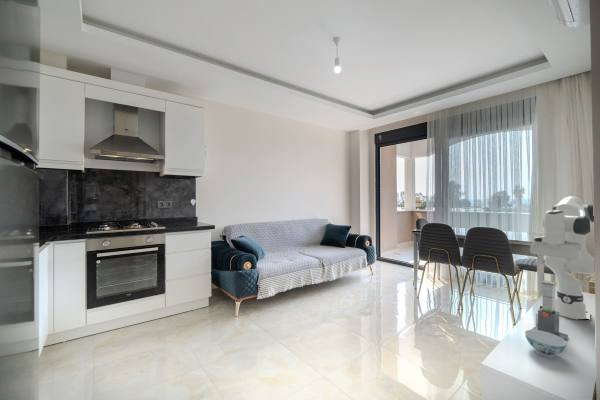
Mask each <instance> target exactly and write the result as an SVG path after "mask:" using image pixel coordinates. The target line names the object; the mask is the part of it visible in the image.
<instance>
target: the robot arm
mask: <svg viewBox="0 0 600 400" xmlns="http://www.w3.org/2000/svg"><path fill="white" fill-rule="evenodd" d="M583 203H584V202H583V201H582V199H581V198H580V197H578V196H573V195H569V196H566V197H563V199H561V200H560V201H559V202H558V203H557V204H554V205H553V206H552V207H551V209H549V210H546V211H545V212H544V217H543V222H542V223H543V224H542V225H543V228H544V231H543V235H540V236H534V237H533V238H532V242H531V243H530V247H529V252H530V254H532V255H537V257H538V258H539V260H540V263H541V264H544V265H545V266H546V267H547V268H549V269H550V270H551V271H552V272H553V274H554V275H555V277H556V280H557V290H556V297H555V311H557V312H559V316H561V317H564V318H567V319H572V320H578V319H587V318H586V313H588V312H589V311H587V306H586V303H585V302H584V299H585V297H584V294H583V283H582V282H581V280H580V279H578V278H576V277H575V276H573V275H572V274H571V273H576V274H580V275H581V274H582V275H595V274H594V259H595V257H593V256H592V255H591V254H590V253H589V252H588V250H587V245H586V242H587V234H590V233H591V232H592V230H593V223H594V222H595V221H594V216H593V206H594V205H592V204H583Z"/></svg>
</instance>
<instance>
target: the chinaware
mask: <svg viewBox="0 0 600 400" xmlns="http://www.w3.org/2000/svg"><path fill="white" fill-rule="evenodd" d="M524 335H525V338H526V340H527V343H528V344H529V345H530V346H531V347H532V348H533V349H534V350H535V352H536V351H537V352H538V353H537V352H536V353H537V354H539V355H541V354H542V355H541V356H543V355H544V357H548V358H554V357H555V356H556V355H559V354H561V353H564V351H565V350H566V348H567V345H568V343H567V341H566V340H564V339H562V338H561V337H559V336H557V335H554V334H551V333H548V332H545V331H540V330H531V329H527V330H525V332H524Z"/></svg>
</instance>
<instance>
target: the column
mask: <svg viewBox="0 0 600 400" xmlns="http://www.w3.org/2000/svg"><path fill="white" fill-rule="evenodd" d="M541 284H542V305H543V309H542V311H545V312H548V313H552V314H554V313H555V298H556V285H557V282H553V281H549V280H543V281H541Z"/></svg>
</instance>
